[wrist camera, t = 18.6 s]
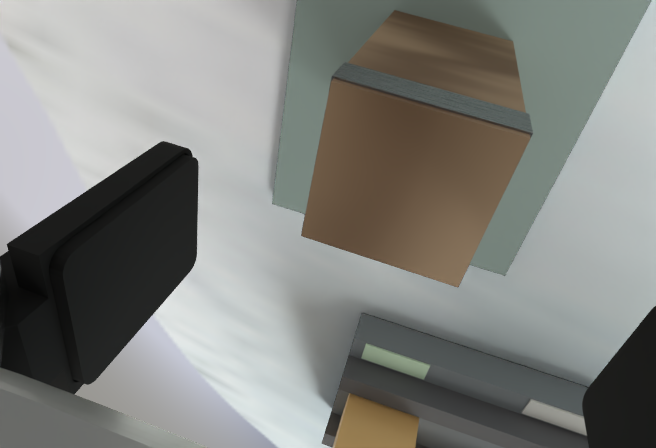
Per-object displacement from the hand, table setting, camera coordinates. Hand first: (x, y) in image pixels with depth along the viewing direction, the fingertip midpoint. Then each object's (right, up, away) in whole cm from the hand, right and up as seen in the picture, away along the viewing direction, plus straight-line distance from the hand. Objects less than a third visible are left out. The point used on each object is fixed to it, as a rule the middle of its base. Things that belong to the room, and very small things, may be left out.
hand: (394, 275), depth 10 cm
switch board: (+6, -10, +20) cm, 23 cm away
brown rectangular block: (+3, +7, +9) cm, 12 cm away
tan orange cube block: (+2, -10, +19) cm, 21 cm away
